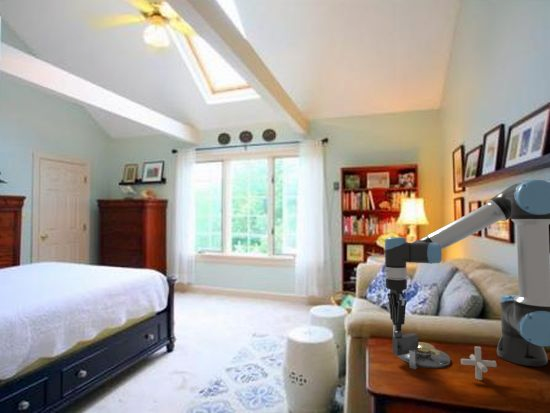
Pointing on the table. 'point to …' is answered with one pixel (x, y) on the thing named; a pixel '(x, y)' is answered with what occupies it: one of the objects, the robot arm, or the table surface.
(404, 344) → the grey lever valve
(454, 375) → the table surface
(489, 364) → the pipe connector
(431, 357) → the post plate
